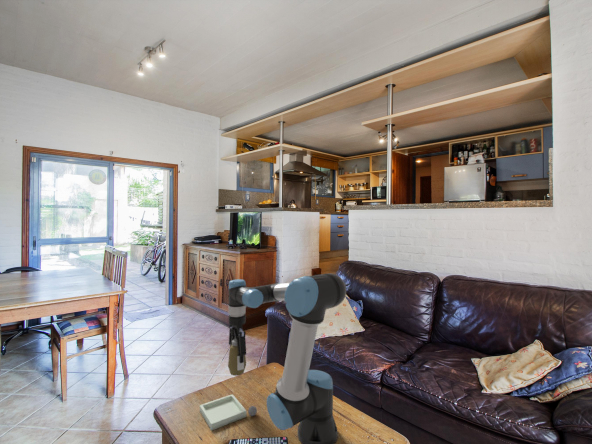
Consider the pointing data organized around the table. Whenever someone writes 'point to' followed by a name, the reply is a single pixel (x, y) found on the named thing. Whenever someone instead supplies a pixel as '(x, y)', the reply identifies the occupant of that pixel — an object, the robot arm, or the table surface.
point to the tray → (222, 411)
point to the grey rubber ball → (252, 411)
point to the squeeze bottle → (234, 359)
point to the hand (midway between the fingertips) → (237, 365)
